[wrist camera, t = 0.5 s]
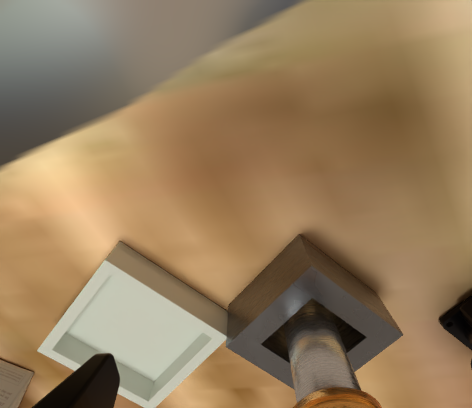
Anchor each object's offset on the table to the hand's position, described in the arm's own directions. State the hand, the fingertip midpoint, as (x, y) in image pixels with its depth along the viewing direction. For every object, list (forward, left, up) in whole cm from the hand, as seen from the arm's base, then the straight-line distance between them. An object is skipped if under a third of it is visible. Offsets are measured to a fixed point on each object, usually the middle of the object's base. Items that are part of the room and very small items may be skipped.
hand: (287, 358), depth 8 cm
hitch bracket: (-8, +5, -13) cm, 16 cm away
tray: (0, +14, -13) cm, 20 cm away
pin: (-8, +5, -13) cm, 16 cm away
